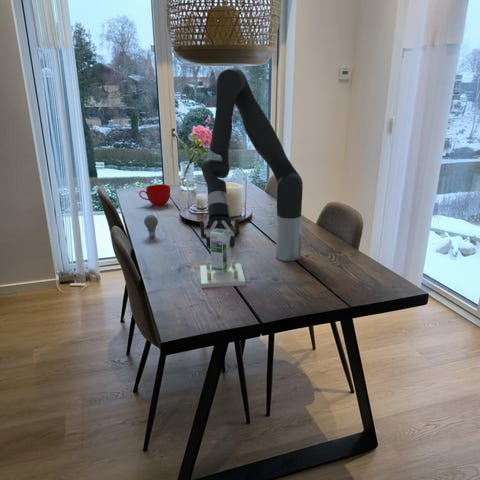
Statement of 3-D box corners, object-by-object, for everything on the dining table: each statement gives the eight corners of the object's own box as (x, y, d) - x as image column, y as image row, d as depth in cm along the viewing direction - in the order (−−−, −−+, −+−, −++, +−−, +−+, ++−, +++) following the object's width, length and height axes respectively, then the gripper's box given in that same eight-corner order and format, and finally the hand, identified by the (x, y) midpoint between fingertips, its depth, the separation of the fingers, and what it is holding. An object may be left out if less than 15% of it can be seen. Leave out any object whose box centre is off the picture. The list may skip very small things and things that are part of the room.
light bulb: (145, 239, 191) (143, 217, 187) (144, 234, 196) (143, 213, 193) (159, 238, 192) (158, 216, 189) (158, 233, 198) (156, 212, 194)
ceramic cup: (139, 203, 244) (137, 186, 240) (169, 200, 249) (168, 183, 245) (141, 209, 233) (139, 191, 229) (173, 206, 237) (171, 189, 234)
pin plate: (240, 267, 163) (240, 257, 162) (245, 285, 149) (245, 274, 148) (200, 269, 162) (199, 259, 160) (201, 287, 148) (200, 277, 146)
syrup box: (210, 271, 154) (209, 232, 148) (216, 264, 159) (215, 227, 154) (226, 273, 152) (225, 234, 147) (231, 266, 157) (230, 228, 152)
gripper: (198, 202, 154) (200, 244, 148) (238, 200, 156) (242, 243, 149) (198, 212, 161) (200, 253, 155) (237, 210, 163) (240, 251, 156)
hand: (221, 248), depth 152 cm, fingers closed on syrup box, 7 cm apart
